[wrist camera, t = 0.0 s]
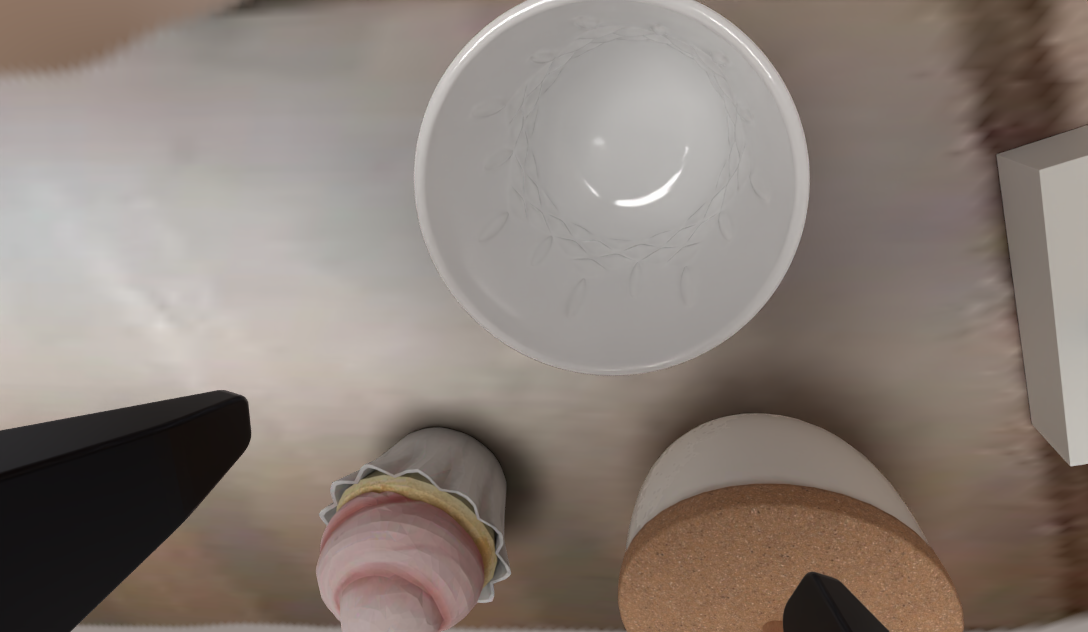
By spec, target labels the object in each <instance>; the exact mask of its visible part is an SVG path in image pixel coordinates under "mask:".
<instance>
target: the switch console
mask: <svg viewBox="0 0 1088 632" xmlns="http://www.w3.org/2000/svg"><path fill="white" fill-rule="evenodd" d="M996 156H997V164H998V171H999V179H1000V186H1001V194H1002V202H1003V209H1004V217H1005V224H1006V232H1007V239H1008V247H1009V255H1010V262H1011V270H1012V277H1013V285H1014V293H1015V300H1016V308H1017V315H1018V323H1019V330H1020V338H1021V346H1022V353H1023V361H1024V368H1025V376H1026V384H1027V391H1028V399H1029V406H1030V414H1031V422H1032V425H1033V426H1034V427H1035V428H1036V429H1037V430H1038V431H1039V432H1040V434H1041V435H1042V436H1043V437H1044V438H1045V439H1046V440H1047V441H1048V442H1049V443H1050V445H1051V446H1052V447H1053V448H1054V449H1055V450H1056V451H1057V452H1058V453H1059V454H1060V455H1061V457H1062V458H1063V459H1064V460H1065V461H1066V462H1067V463H1068V464H1069V465H1070V466H1076V465H1083V464H1088V125H1086V126H1083V127H1080V128H1077V129H1073V130H1070V131H1067V132H1064V133H1061V134H1058V135H1055V136H1052V137H1049V138H1046V139H1043V140H1040V141H1036V142H1033V143H1030V144H1027V145H1024V146H1021V147H1018V148H1015V149H1012V150H1009V151H1006V152H1002V153H999V154H996Z"/></svg>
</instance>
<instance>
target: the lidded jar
mask: <svg viewBox="0 0 1088 632" xmlns="http://www.w3.org/2000/svg"><path fill="white" fill-rule="evenodd" d="M808 572H817V573H820V574H823V575H827V576H830V577H833V578H836V579H838V580H839V581H840V582H842V583H843V584H844V585H845V586H846V587H847V588H848V589H849V591H850V592H851V593H852V594H853V595H854V596H855V597H856V598H857V599H858V600H859V601H860V602H861V603H862V604H863V605H864V606H865V607H866V608H867V609H868V610H869V611H870V612H871V613H872V614H873V615H874V616H875V617H876V618H877V619H878V620H879V621H880V622H881V623H882V624H883V625H884V626H885V627H886V628H887V629H888V630H889V631H890V632H963V629H964V620H963V608H962V605H961V602H960V599H959V597H958V594H957V591H956V589H955V586H954V584H953V582H952V580H951V578H950V576H949V574H948V573H947V571H946V569H945V568H944V566H943V565H942V563H941V562H940V560H939V559H938V557H937V555H936V554H935V552H934V551H933V549H932V548H931V547H930V546H929V544H928V542H927V539H926V538H925V536H924V534H923V532H922V530H921V529H920V527H919V525H918V523H917V522H916V520H915V518H914V517H913V515H912V513H911V512H910V510H909V509H908V507H907V506H906V504H905V503H904V501H903V500H902V499H901V497H900V496H899V494H898V493H897V492H896V490H895V489H894V487H893V486H892V484H891V483H890V482H889V481H888V480H887V479H886V478H885V477H884V476H883V475H882V473H881V472H880V471H879V470H878V469H877V468H876V467H875V466H874V465H873V464H872V463H871V462H870V461H869V460H868V459H867V458H866V457H865V456H864V455H863V454H861V453H860V452H859V451H857V450H856V449H855V448H853V447H852V446H850V445H849V444H848V443H846V442H845V441H844V440H842V439H841V438H839V437H838V436H836V435H834V434H832V433H830V432H828V431H827V430H825V429H823V428H821V427H818V426H815V425H813V424H810V423H807V422H804V421H802V420H799V419H796V418H791V417H787V416H782V415H775V414H765V413H748V414H738V415H731V416H725V417H722V418H718V419H715V420H711V421H709V422H706V423H704V424H702V425H700V426H697V427H695V428H694V429H692V430H691V431H689V432H687V433H686V434H684V435H683V436H681V437H680V438H678V439H677V440H676V441H675V442H674V443H672V444H671V445H670V446H669V447H668V448H667V449H666V450H665V451H664V452H663V454H662V455H661V456H660V457H659V459H658V460H657V461H656V462H655V464H654V465H653V466H652V468H651V469H650V471H649V473H648V475H647V477H646V479H645V480H644V483H643V485H642V487H641V489H640V492H639V494H638V497H637V500H636V504H635V507H634V511H633V514H632V518H631V522H630V525H629V531H628V537H627V543H626V552H625V555H624V559H623V563H622V566H621V570H620V577H619V587H618V605H619V610H620V615H621V619H622V621H623V623H624V626H625V628H626V630H627V632H783V612H784V608H785V605H786V603H787V601H788V600H789V598H790V597H791V595H792V594H793V592H794V591H795V589H796V588H797V586H798V585H799V583H800V582H801V580H802V578H803V577H804V576H805V575H806V574H807V573H808Z"/></svg>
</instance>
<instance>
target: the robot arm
mask: <svg viewBox="0 0 1088 632" xmlns="http://www.w3.org/2000/svg"><path fill="white" fill-rule="evenodd" d="M250 439H251V425H250V415H249V405H248V401H247V399H246V398H245V397H244V396H242V395H239V394H236V393H232V392H229V391H226V390H217V391H212V392H207V393H201V394H196V395H190V396H185V397H180V398H174V399H169V400H163V401H158V402H152V403H147V404H142V405H136V406H131V407H125V408H120V409H115V410H109V411H104V412H98V413H93V414H88V415H82V416H77V417H71V418H66V419H60V420H55V421H50V422H44V423H39V424H33V425H28V426H23V427H17V428H12V429H6V430H1V431H0V632H71V631H72V630H73V629H74V628H75V627H76V626H77V625H78V624H79V623H80V622H81V621H82V620H83V619H84V618H85V617H86V616H87V615H88V614H89V613H90V612H91V611H92V610H93V609H94V608H95V607H96V606H97V605H98V604H100V603H101V602H102V601H103V600H104V599H105V598H106V597H107V596H108V595H109V594H110V593H111V592H112V591H113V590H114V589H115V588H116V587H117V586H118V585H119V584H120V583H121V582H122V581H123V580H124V579H125V578H126V577H128V576H129V575H130V574H131V573H132V572H133V571H134V570H135V569H136V568H137V567H138V566H139V565H140V564H141V563H142V562H143V561H144V560H145V559H146V558H147V557H148V556H149V555H150V554H151V553H152V552H153V551H154V550H156V549H157V548H158V547H159V546H160V545H161V544H162V543H163V542H164V541H165V540H166V539H167V538H168V537H169V536H170V535H171V534H172V533H173V532H174V531H175V530H176V529H177V528H178V527H179V526H180V525H181V524H182V523H183V522H184V521H185V520H186V519H187V518H188V517H189V516H190V514H191V513H192V512H193V511H194V510H195V509H196V508H197V507H198V506H199V504H200V503H201V502H202V501H203V500H204V499H205V497H206V496H207V495H208V494H209V493H210V491H211V490H212V489H213V488H214V487H215V486H216V484H217V483H218V482H219V481H220V480H221V479H222V477H223V476H224V475H225V474H226V473H227V472H228V470H229V469H230V468H231V467H232V466H233V465H234V463H235V462H236V461H237V460H238V459H239V457H240V456H241V455H242V454H243V453H244V451H245V450H246V448H247V447H248V445H249V442H250ZM783 632H890V631H889V630H888V629H887V628H886V627H885V626H884V625H883V624H882V623H881V622H880V621H879V620H878V619H877V618H876V617H875V616H874V615H873V614H872V613H871V612H870V611H869V610H868V609H867V608H866V607H865V606H864V605H863V604H862V603H861V602H860V601H859V600H858V599H857V598H856V597H855V596H854V595H853V594H852V593H851V592H850V591H849V589H848V588H847V587H846V586H845V585H844V584H843V583H842V582H840V581H839V580H838V579H836V578H833V577H830V576H827V575H823V574H820V573H817V572H808V573H807V574H806V575H805V576H804V577H803V578H802V580H801V582H800V583H799V585H798V586H797V588H796V589H795V591H794V592H793V594H792V595H791V597H790V598H789V600H788V601H787V603H786V605H785V608H784V612H783Z"/></svg>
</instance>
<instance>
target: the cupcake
mask: <svg viewBox="0 0 1088 632" xmlns="http://www.w3.org/2000/svg"><path fill="white" fill-rule="evenodd" d="M330 492H331V495H332V499H333V503H331V504H330V505H329V506H327V507H326V508H324V509H323V510H322V511H321V512H320V513H319V516H320V517H321V519H322V521H323V522H324V523H325V524H326V525H327V527H326V529H325V531H324V534H323V537H322V540H321V547H320V557H319V560H318V563H317V567H316V575H317V580H318V585H319V589H320V593H321V597H322V599H323V601H324V602H325V604H326V605H327V607H328V609H329V610H330V611H331V612H332V613H333V614H334V615H335V616H336V618H337V619H338V620H339V621H341V629H342V632H441V631H444V630H447V629H449V628H451V627H452V626H454V625H455V624H456V623H458V622H459V621H461V620H462V619H463V618H464V617H465V616H466V615H467V614H468V613H469V612H470V611H471V609H472V608H473V607H474V606H475V605H476V604H477V602H480V603H486V602H492V600H493V598H494V583H496V582H499V581H501V580H504V579H506V578H507V577H508V576H509V575H510V574H511V571H510V566H509V561H508V556H507V551H506V546H505V541H504V517H505V502H506V480H505V476H504V473H503V471H502V468H501V466H500V464H499V462H498V461H497V459H496V458H495V456H494V454H492V453H491V452H490V451H489V450H488V449H487V448H486V447H485V446H484V445H483V444H481V443H480V442H479V441H477V440H476V439H474V438H472V437H471V436H469V435H467V434H464V433H462V432H459V431H456V430H452V429H447V428H441V427H436V428H426V429H422V430H419V431H416V432H413V433H410V434H408V435H407V436H405V437H404V438H403V439H402V440H400V441H399V442H398V443H397V444H395V445H394V446H393V447H392V448H391V449H389V450H388V451H387V452H385V453H384V454H383V455H381V456H380V457H379V458H377V459H376V460H374V461H372V462H369V463H366V464H365V465H364V466H362V467H361V469H360V470H358V471H356V472H354V473H352V474H350V475H347V476H345V477H343V478H341V479H339V480H337V481H334V482H332V486H331V489H330Z"/></svg>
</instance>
